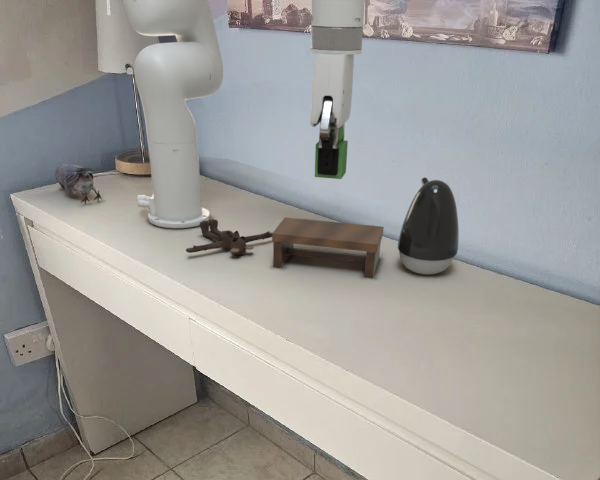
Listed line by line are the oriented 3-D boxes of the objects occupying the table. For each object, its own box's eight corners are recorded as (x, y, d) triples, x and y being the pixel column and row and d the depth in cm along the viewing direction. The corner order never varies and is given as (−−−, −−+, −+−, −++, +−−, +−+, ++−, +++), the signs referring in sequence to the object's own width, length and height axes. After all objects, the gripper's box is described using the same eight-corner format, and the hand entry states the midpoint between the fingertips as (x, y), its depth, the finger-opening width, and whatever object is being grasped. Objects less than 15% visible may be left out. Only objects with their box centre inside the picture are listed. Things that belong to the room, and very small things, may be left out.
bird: (73, 186, 145) (66, 154, 141) (106, 201, 136) (100, 167, 132) (51, 190, 142) (44, 157, 138) (83, 206, 133) (77, 171, 129)
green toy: (314, 177, 99) (316, 121, 95) (319, 170, 103) (321, 116, 98) (341, 179, 98) (344, 123, 94) (345, 172, 102) (349, 118, 97)
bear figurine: (248, 211, 123) (286, 225, 112) (249, 233, 125) (287, 248, 114) (163, 225, 115) (195, 242, 104) (166, 248, 117) (198, 267, 106)
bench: (271, 266, 108) (271, 233, 104) (284, 249, 115) (284, 217, 111) (374, 278, 104) (377, 243, 101) (380, 259, 112) (383, 226, 108)
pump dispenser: (439, 256, 114) (452, 171, 105) (463, 278, 105) (480, 187, 97) (386, 259, 112) (396, 173, 103) (407, 282, 103) (419, 190, 95)
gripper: (322, 36, 98) (318, 157, 108) (298, 44, 84) (296, 182, 94) (369, 38, 96) (360, 160, 106) (352, 46, 83) (344, 186, 93)
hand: (330, 169), depth 100 cm, fingers closed on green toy, 4 cm apart
